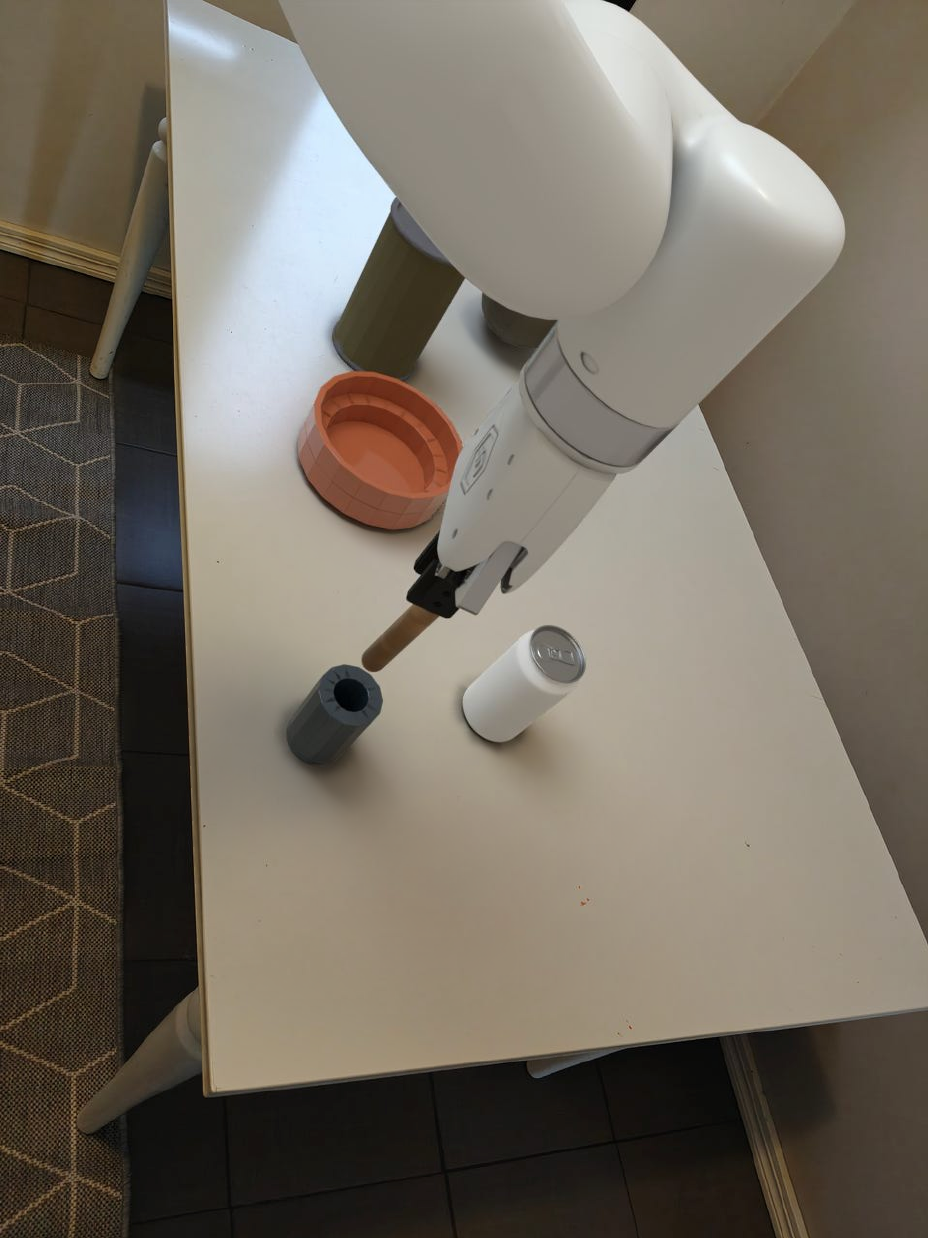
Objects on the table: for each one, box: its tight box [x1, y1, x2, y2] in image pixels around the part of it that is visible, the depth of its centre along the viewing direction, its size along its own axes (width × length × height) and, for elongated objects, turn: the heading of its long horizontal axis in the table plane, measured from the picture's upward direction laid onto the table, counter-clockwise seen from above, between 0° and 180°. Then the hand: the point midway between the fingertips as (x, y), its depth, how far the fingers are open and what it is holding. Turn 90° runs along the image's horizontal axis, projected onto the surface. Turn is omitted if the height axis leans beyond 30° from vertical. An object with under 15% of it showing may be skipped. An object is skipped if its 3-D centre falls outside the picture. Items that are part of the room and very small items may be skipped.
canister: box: [331, 196, 466, 382], centre depth 94 cm, size 11×10×20 cm
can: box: [462, 624, 587, 743], centre depth 77 cm, size 6×6×12 cm
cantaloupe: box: [480, 291, 557, 349], centre depth 110 cm, size 14×14×15 cm
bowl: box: [297, 370, 464, 530], centre depth 88 cm, size 16×16×6 cm
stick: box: [360, 565, 477, 673], centre depth 57 cm, size 2×2×16 cm
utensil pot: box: [286, 663, 384, 766], centre depth 68 cm, size 5×5×8 cm
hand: (431, 590), depth 55 cm, fingers closed on stick, 1 cm apart
